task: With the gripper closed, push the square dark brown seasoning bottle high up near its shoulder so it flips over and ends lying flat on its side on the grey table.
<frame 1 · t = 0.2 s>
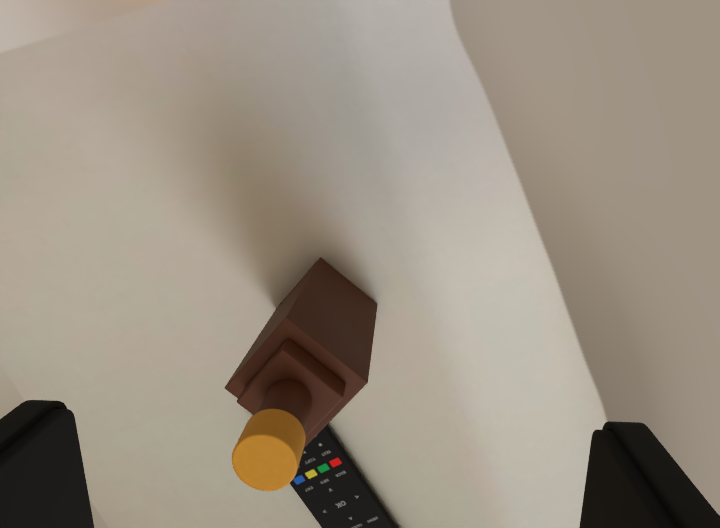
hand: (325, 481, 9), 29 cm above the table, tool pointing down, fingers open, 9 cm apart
bottle: (326, 306, 39), on the table
remote control: (357, 512, 44), on the table
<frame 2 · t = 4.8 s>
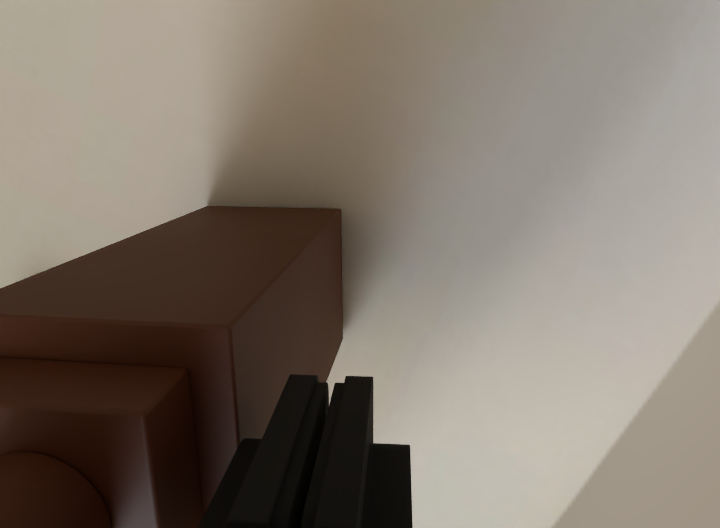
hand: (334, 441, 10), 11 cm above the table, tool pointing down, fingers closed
bottle: (275, 274, 21), on the table, touching gripper
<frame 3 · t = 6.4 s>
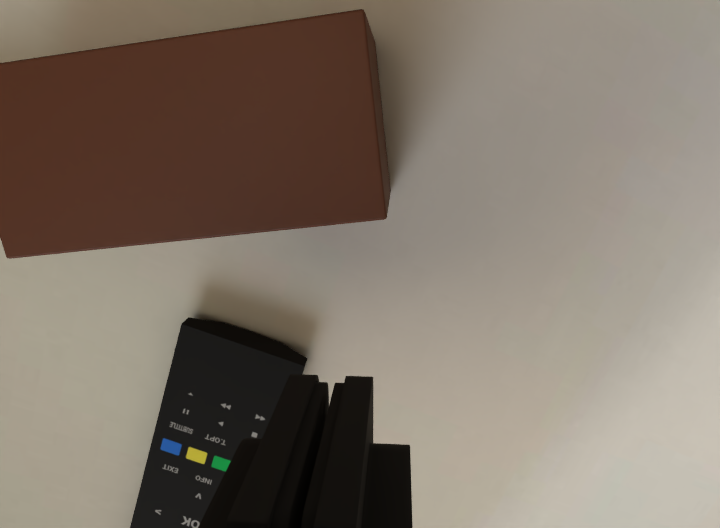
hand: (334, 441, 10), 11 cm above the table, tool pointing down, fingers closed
bottle: (380, 119, 17), point 3 cm above the table, tilted 90°
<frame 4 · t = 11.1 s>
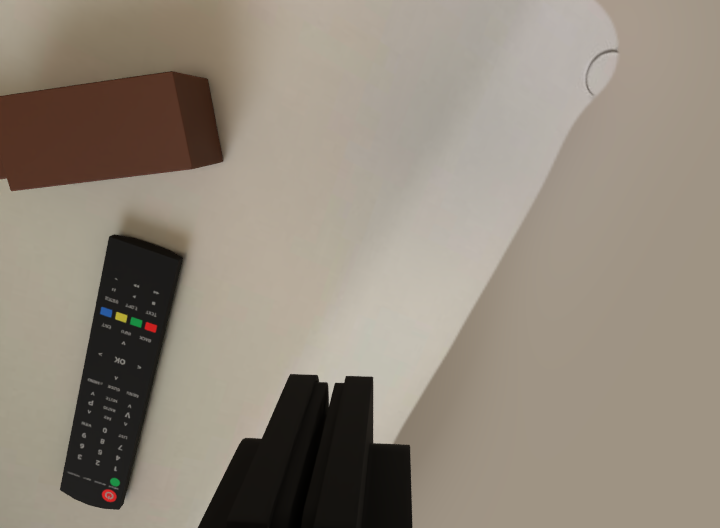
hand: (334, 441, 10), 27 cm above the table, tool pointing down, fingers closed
bottle: (200, 121, 33), point 3 cm above the table, tilted 90°
remote control: (124, 377, 42), on the table
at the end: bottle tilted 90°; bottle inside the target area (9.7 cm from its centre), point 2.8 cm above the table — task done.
